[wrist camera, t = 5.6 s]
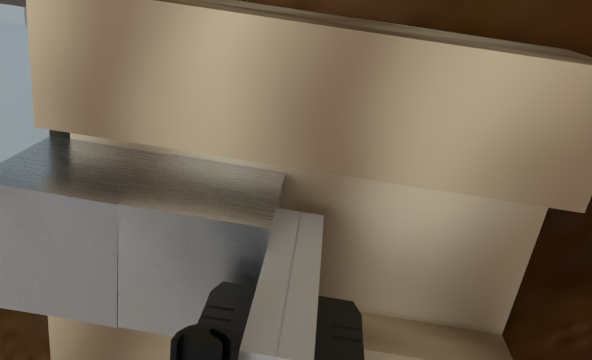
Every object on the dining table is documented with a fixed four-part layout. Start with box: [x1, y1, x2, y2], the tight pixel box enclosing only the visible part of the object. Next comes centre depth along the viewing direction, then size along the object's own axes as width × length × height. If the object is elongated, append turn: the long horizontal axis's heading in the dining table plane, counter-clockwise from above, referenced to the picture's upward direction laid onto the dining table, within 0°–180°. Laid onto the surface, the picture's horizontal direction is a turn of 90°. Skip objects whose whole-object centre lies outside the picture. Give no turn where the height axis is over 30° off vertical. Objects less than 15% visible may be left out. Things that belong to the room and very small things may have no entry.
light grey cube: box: [118, 154, 285, 337], centre depth 16 cm, size 4×4×4 cm
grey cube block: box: [0, 136, 166, 328], centre depth 16 cm, size 4×4×4 cm
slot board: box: [26, 0, 592, 360], centre depth 18 cm, size 16×14×4 cm
